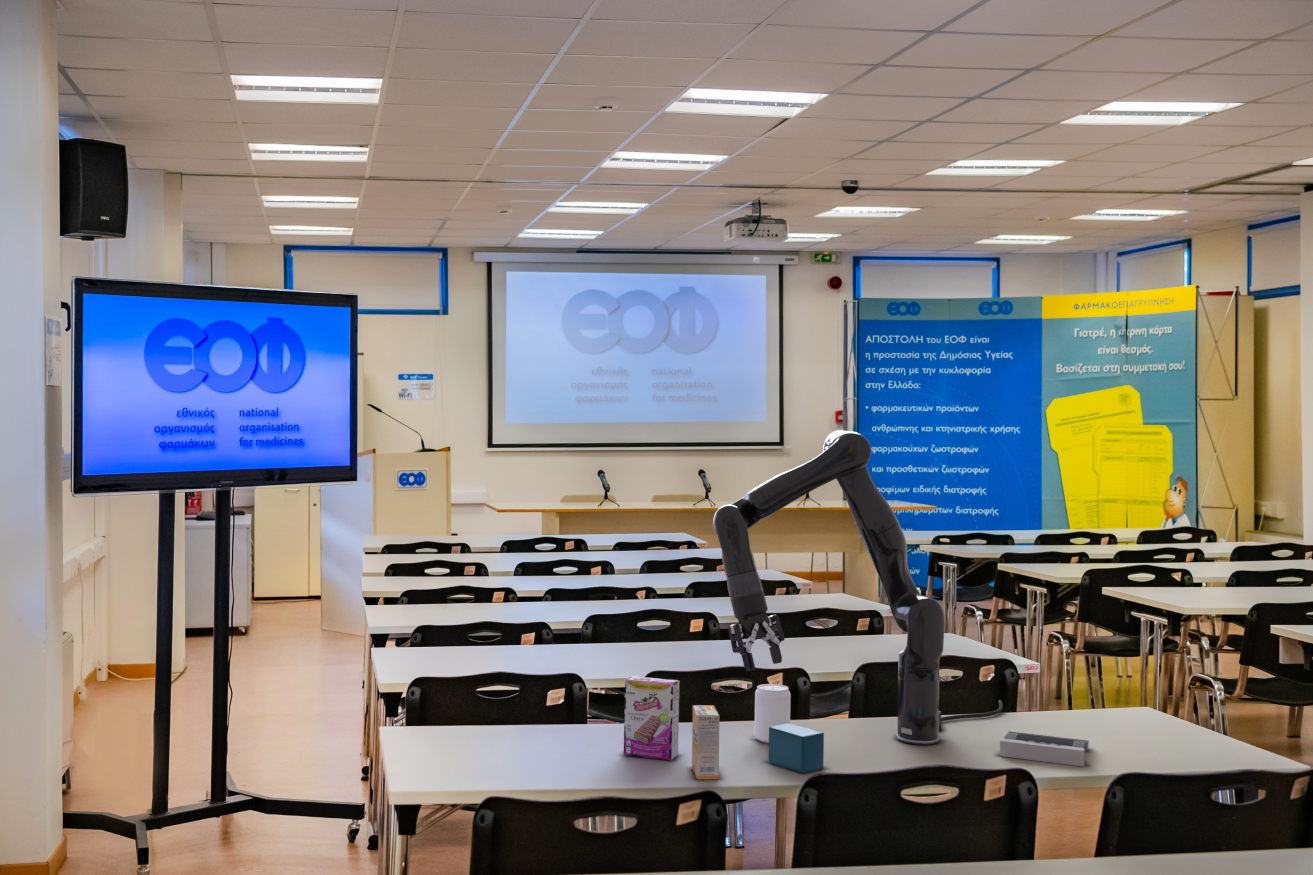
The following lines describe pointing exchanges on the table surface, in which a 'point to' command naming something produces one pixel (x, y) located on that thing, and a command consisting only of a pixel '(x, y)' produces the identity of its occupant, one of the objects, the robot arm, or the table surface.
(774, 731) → the teal rectangular box
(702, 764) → the supplement box
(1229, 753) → the table surface
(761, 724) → the beverage can
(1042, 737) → the grey slotted tray
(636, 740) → the candy bar box
